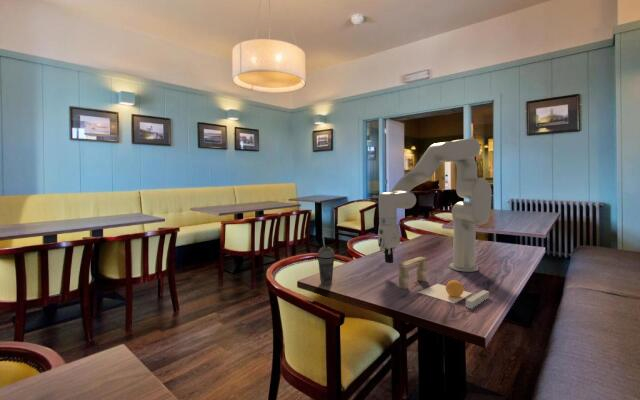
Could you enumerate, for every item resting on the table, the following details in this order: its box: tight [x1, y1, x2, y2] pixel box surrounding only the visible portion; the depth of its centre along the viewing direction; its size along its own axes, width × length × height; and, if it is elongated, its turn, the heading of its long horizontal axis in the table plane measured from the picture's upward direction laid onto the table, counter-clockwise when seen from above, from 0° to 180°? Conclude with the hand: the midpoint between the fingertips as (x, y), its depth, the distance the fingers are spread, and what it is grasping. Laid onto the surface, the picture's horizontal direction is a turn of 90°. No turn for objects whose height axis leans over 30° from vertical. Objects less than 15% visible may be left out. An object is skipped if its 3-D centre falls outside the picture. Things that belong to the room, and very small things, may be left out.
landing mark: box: [418, 283, 473, 304], centre depth 124 cm, size 14×14×1 cm
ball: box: [445, 279, 465, 297], centre depth 120 cm, size 6×6×6 cm
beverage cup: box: [317, 235, 336, 287], centre depth 134 cm, size 7×7×20 cm
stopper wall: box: [465, 289, 490, 310], centre depth 114 cm, size 14×2×2 cm, turn 131°
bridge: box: [398, 256, 427, 290], centre depth 134 cm, size 3×15×10 cm, turn 131°
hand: (389, 262), depth 144 cm, fingers closed
